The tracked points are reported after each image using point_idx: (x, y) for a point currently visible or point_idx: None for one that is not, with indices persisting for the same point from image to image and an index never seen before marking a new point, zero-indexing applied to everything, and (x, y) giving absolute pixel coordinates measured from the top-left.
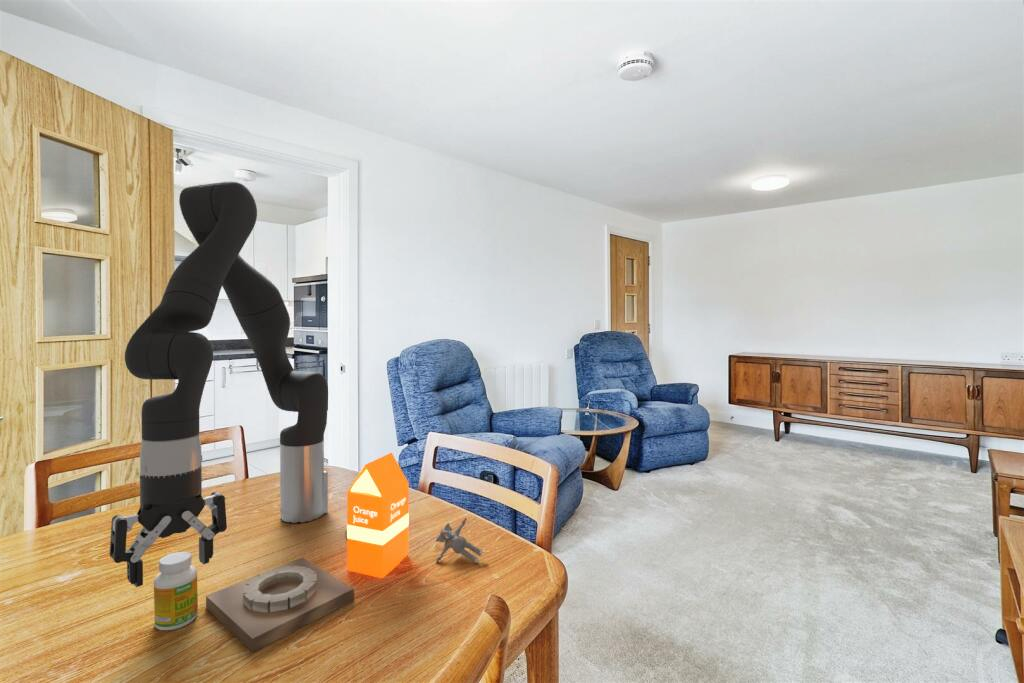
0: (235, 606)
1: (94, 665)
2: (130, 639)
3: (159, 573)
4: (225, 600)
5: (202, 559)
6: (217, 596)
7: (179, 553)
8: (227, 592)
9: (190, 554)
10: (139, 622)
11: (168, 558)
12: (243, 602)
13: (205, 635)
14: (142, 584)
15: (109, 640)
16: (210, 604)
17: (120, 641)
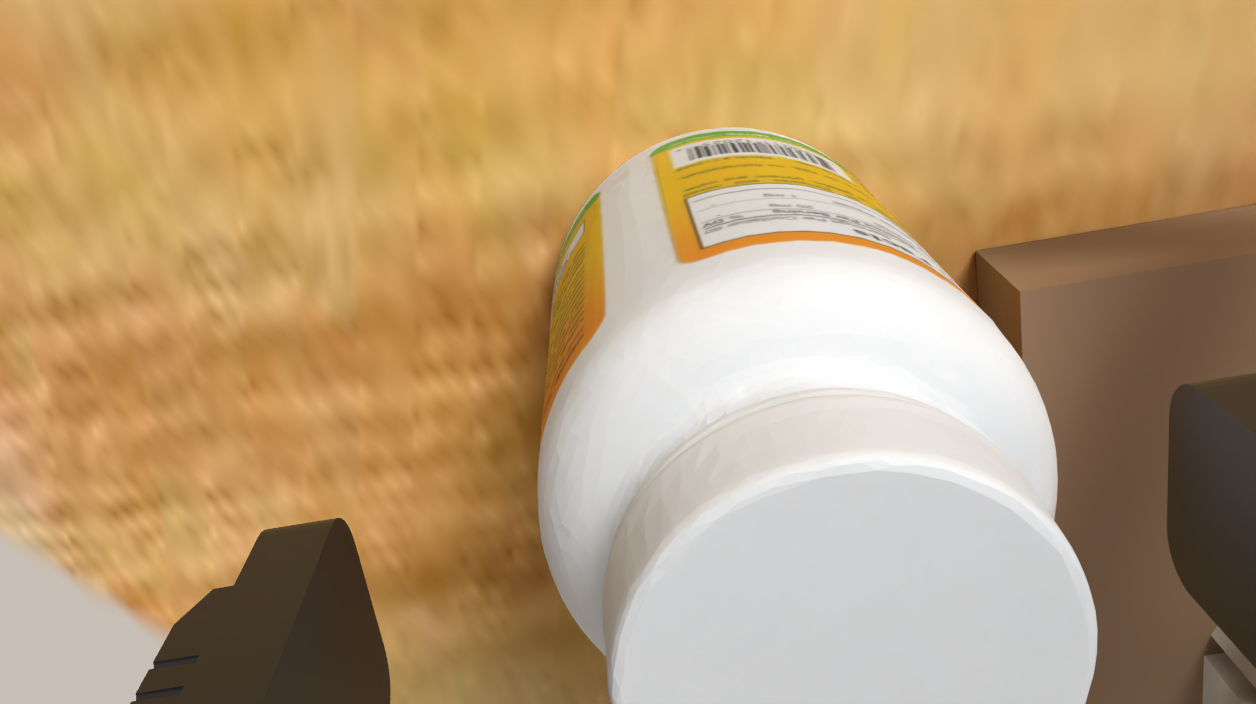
0: (1139, 654)
1: (150, 531)
2: (372, 346)
3: (614, 454)
4: (1119, 505)
5: (1201, 530)
6: (1095, 387)
7: (956, 546)
8: (1196, 366)
9: (1084, 690)
10: (444, 100)
11: (757, 640)
12: (1214, 638)
13: None
14: (387, 695)
15: (219, 248)
16: None
17: (301, 324)
